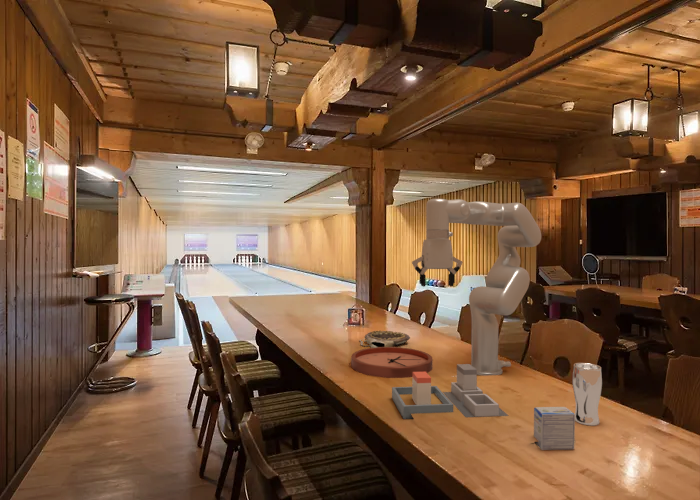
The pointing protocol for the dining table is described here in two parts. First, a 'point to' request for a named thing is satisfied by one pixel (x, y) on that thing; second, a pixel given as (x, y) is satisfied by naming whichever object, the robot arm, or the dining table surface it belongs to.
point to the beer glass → (587, 392)
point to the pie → (385, 338)
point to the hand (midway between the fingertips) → (437, 286)
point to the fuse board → (473, 402)
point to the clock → (391, 362)
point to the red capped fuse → (421, 388)
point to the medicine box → (554, 428)
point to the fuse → (466, 377)
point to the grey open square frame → (412, 409)
